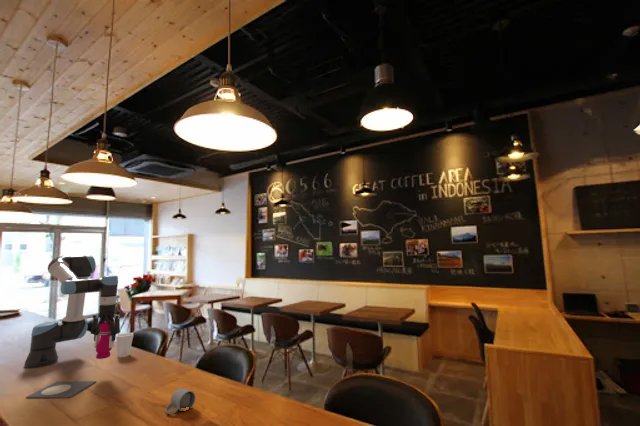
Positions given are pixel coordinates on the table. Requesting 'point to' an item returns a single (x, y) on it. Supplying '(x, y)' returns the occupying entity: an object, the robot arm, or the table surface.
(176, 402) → the ceramic mug
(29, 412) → the table surface
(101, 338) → the pepper mill
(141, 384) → the table surface
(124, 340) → the foam cup
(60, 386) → the mat
